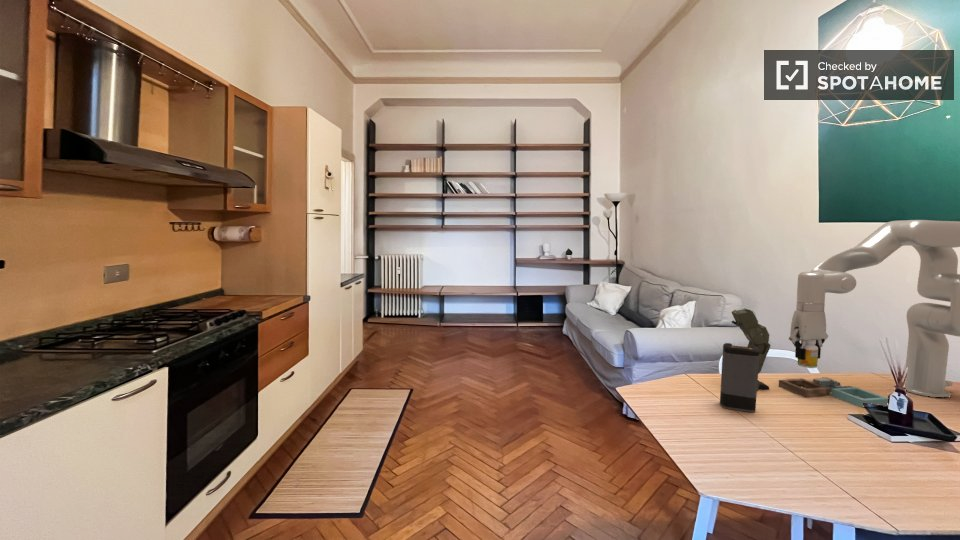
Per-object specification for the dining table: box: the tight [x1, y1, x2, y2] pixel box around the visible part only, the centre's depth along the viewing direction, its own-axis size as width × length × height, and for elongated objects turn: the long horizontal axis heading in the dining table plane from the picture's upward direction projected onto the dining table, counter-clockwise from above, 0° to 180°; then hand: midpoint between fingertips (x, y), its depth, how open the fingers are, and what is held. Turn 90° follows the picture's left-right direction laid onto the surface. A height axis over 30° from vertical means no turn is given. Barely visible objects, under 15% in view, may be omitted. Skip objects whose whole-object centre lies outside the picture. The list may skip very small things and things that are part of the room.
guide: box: [827, 381, 853, 393], centre depth 143 cm, size 12×5×2 cm, turn 99°
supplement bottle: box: [797, 340, 819, 369], centre depth 140 cm, size 5×5×10 cm
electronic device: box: [719, 342, 759, 413], centre depth 126 cm, size 9×6×20 cm, turn 65°
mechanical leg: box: [731, 307, 771, 391], centre depth 144 cm, size 14×7×30 cm, turn 83°
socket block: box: [778, 378, 831, 399], centre depth 141 cm, size 10×10×2 cm
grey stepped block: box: [812, 376, 838, 387], centre depth 142 cm, size 6×4×3 cm
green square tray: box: [830, 386, 890, 409], centre depth 133 cm, size 10×10×2 cm
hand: (807, 357), depth 140 cm, fingers closed on supplement bottle, 5 cm apart
